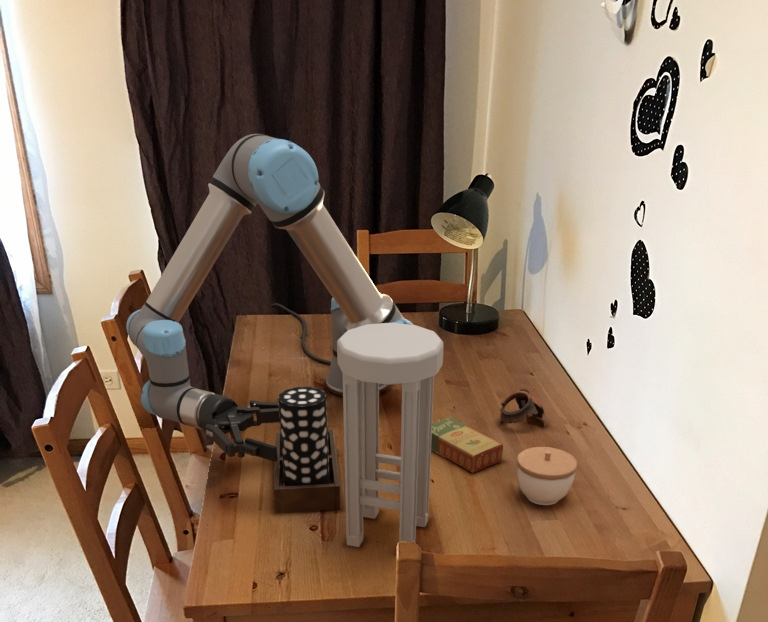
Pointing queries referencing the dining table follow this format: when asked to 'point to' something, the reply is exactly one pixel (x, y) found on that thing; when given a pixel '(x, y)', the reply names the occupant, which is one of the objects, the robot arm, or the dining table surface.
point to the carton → (464, 445)
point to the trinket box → (545, 474)
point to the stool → (360, 404)
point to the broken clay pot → (522, 407)
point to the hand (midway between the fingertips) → (299, 439)
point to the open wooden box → (307, 486)
